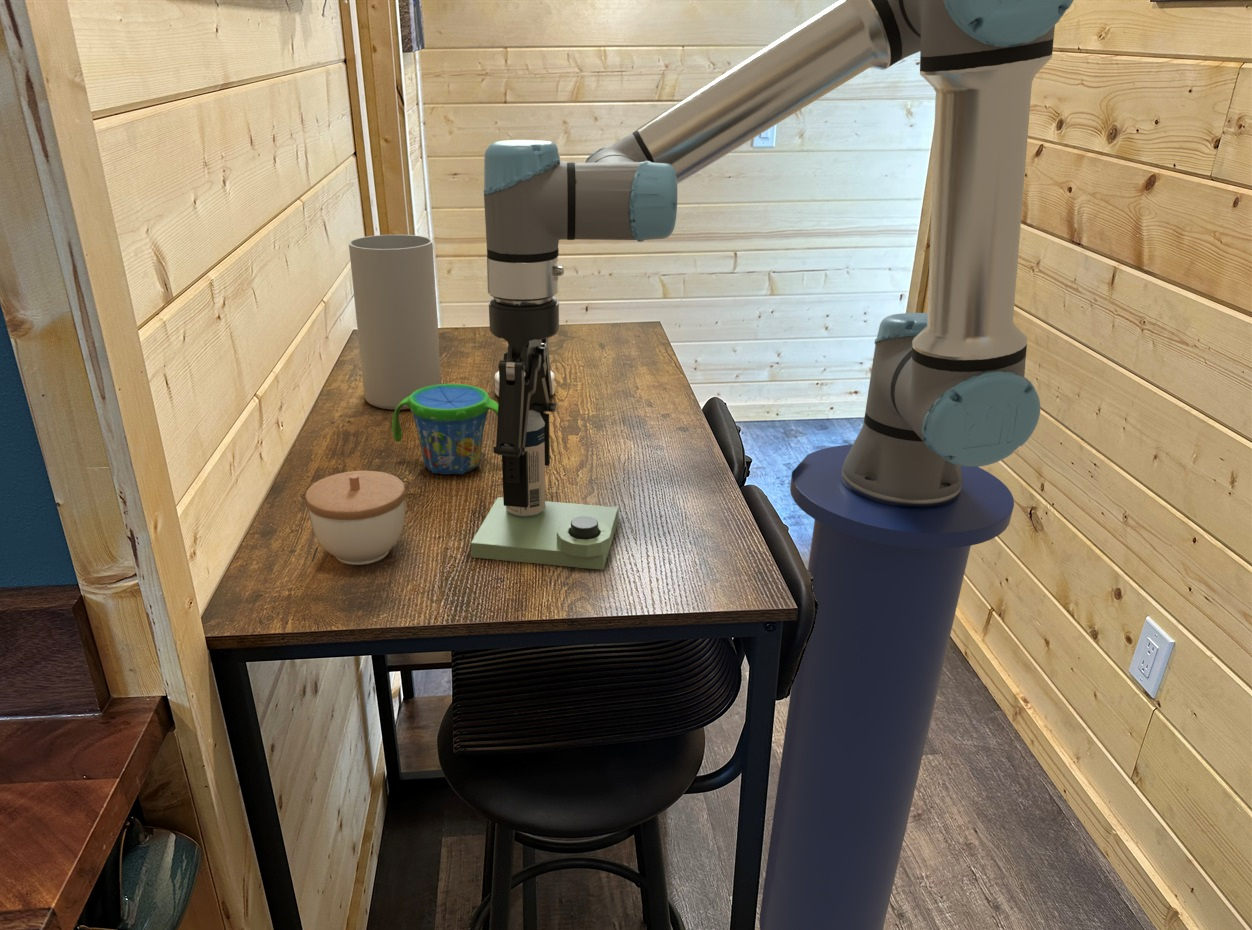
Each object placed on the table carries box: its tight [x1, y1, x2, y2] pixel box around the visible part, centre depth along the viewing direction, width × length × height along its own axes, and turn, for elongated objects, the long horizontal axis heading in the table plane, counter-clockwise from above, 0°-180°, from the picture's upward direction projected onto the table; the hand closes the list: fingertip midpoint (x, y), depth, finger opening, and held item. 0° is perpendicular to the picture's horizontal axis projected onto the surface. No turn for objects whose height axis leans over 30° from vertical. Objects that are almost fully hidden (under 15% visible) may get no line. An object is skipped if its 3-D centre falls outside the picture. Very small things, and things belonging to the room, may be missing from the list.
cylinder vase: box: [348, 234, 442, 411], centre depth 144 cm, size 12×12×25 cm
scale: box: [470, 496, 620, 571], centre depth 105 cm, size 15×13×4 cm
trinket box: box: [304, 470, 406, 566], centre depth 101 cm, size 11×11×9 cm
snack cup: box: [391, 383, 498, 476], centre depth 123 cm, size 16×10×10 cm
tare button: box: [571, 516, 598, 540], centre depth 100 cm, size 3×3×2 cm
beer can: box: [506, 410, 546, 517], centre depth 106 cm, size 5×5×12 cm
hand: (527, 483), depth 107 cm, fingers open, 11 cm apart
